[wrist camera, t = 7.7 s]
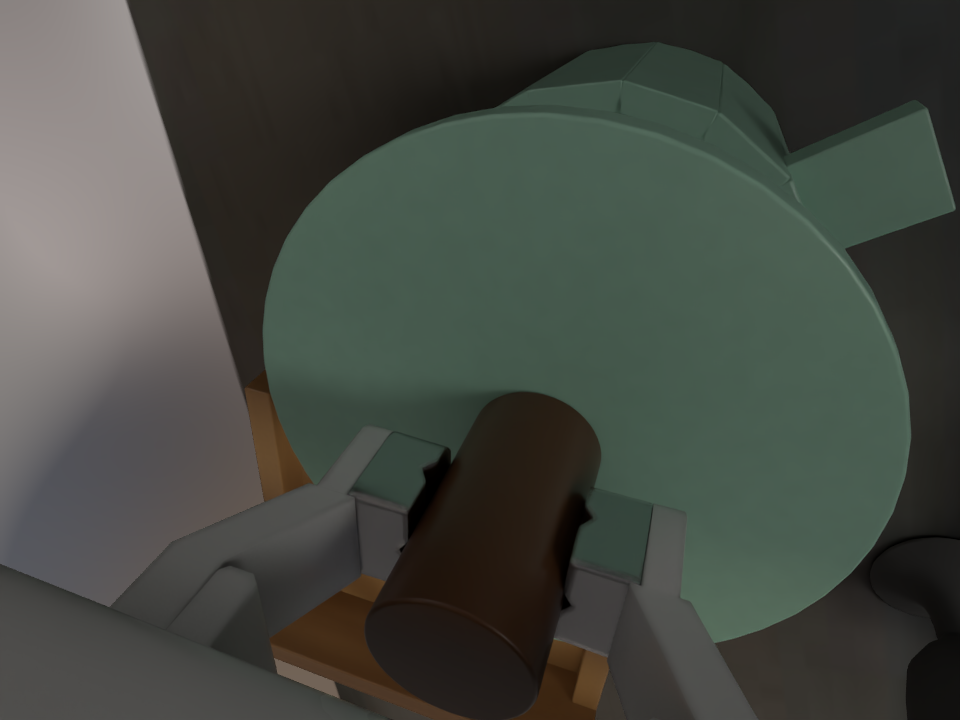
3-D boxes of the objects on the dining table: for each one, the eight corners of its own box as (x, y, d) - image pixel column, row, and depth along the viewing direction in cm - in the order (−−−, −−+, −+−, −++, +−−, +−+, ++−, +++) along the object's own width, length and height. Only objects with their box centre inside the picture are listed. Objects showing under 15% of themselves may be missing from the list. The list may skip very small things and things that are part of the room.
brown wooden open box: (324, 316, 31) (202, 423, 24) (674, 399, 27) (653, 556, 20) (341, 525, 40) (255, 651, 32) (612, 612, 36) (582, 777, 28)
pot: (389, 170, 26) (268, 244, 19) (818, -88, 18) (872, -118, 11) (515, 383, 30) (450, 509, 23) (923, 250, 21) (1013, 386, 15)
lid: (197, 263, 14) (-68, 421, 9) (744, -86, 8) (750, -124, 3) (466, 622, 18) (372, 858, 13) (976, 577, 11) (1128, 987, 7)
